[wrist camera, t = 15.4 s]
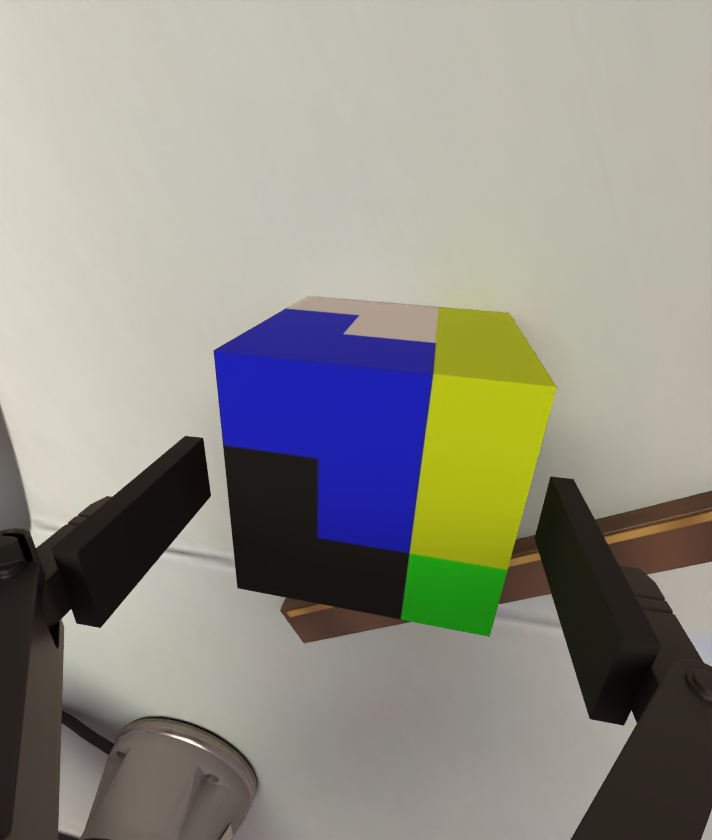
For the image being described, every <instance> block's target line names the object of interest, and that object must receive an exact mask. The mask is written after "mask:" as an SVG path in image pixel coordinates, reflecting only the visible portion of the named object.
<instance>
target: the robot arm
mask: <svg viewBox="0 0 712 840" xmlns="http://www.w3.org/2000/svg"><path fill="white" fill-rule="evenodd" d="M210 497H211V493H210V485H209V478H208V470H207V463H206V456H205V448H204V441H203V438H198V437H189V436H185V437H183V438H182V439H181V440H180V441H179V442H177V443H176V444H175V445H174V446H173V447H172V448H170V449H169V450H168V451H167V452H166V453H164V454H163V455H162V456H161V457H160V458H158V459H157V460H156V461H155V462H154V463H152V464H151V465H150V466H149V467H148V468H146V469H145V470H144V471H143V472H142V473H140V474H139V475H138V476H137V477H136V478H134V479H133V480H132V481H131V482H130V483H128V484H127V485H126V486H125V487H124V488H122V489H121V490H120V491H119V492H118V493H116V494H115V495H114V496H113V497H109V496H107V497H105V498H103V499H101V500H99V501H97V502H95V503H92V504H91V505H89V506H88V507H87V508H86V509H84V510H83V511H82V512H81V513H79V514H78V517H77V516H76V517H74V518H73V519H72V520H71V521H69V522H68V525H65V526H63V527H62V528H61V529H60V530H58V531H57V532H56V533H55V534H53V535H52V536H51V537H50V538H48V539H47V540H46V541H45V542H43V543H42V544H41V545H40V546H38V547H37V548H35V545H34V542H33V539H32V537H31V534H30V532H29V531H27V530H25V529H17V528H14V529H8V530H3V531H0V840H58V817H59V784H60V750H61V723H62V724H64V725H66V726H67V727H69V728H70V729H71V730H73V731H74V732H75V733H77V734H78V735H79V736H81V737H82V738H83V739H85V740H86V741H88V742H89V743H91V744H92V745H94V746H96V747H97V748H99V749H100V750H102V751H103V752H105V753H106V754H108V755H109V757H108V760H107V763H106V766H105V769H104V772H103V775H102V778H101V781H100V784H99V787H98V791H97V794H96V797H95V800H94V803H93V806H92V809H91V812H90V815H89V818H88V821H87V824H86V827H85V830H84V832H83V834H82V836H81V837H80V839H79V840H232V839H233V836H234V834H235V833H236V831H237V830H238V828H239V826H240V825H241V823H242V822H243V820H244V818H245V817H246V814H247V812H248V810H249V808H250V806H251V803H252V800H253V797H254V794H255V791H256V778H255V775H254V773H253V771H252V769H251V768H250V766H249V764H248V763H247V762H246V761H245V759H244V758H243V757H242V756H241V755H240V754H239V753H238V752H237V751H235V750H234V749H233V748H232V747H231V746H229V745H228V744H226V743H225V742H224V741H222V740H220V739H219V738H217V737H215V736H214V735H212V734H210V733H208V732H206V731H204V730H202V729H199V728H197V727H194V726H192V725H189V724H185V723H182V722H178V721H174V720H168V719H159V718H149V719H141V720H137V721H134V722H132V723H130V724H129V725H127V726H126V727H125V728H124V730H123V731H122V733H121V734H120V736H119V738H118V739H117V741H116V742H115V744H113V743H111V742H110V741H108V740H107V739H105V738H104V737H102V736H101V735H99V734H97V733H96V732H94V731H93V730H91V729H90V728H89V727H87V726H86V725H85V724H83V723H82V722H81V721H79V720H78V719H76V718H75V717H73V716H72V715H70V714H68V713H67V712H65V711H63V710H62V684H63V651H64V625H63V622H62V620H61V619H62V618H63V617H64V616H65V615H66V614H67V613H68V611H69V610H70V609H72V611H73V614H74V617H75V620H76V623H77V624H83V625H88V626H93V627H99V628H101V627H102V625H103V624H104V623H105V622H106V621H107V619H108V618H109V617H110V616H111V615H112V613H113V612H114V611H115V610H116V609H117V608H118V606H119V605H120V604H121V603H122V602H123V600H124V599H125V598H126V597H127V596H128V594H129V593H130V592H131V591H132V590H133V588H134V587H135V586H136V585H137V584H138V582H139V581H140V580H141V579H142V578H143V576H144V575H145V574H146V573H147V572H148V571H149V569H150V568H151V567H152V566H153V565H154V563H155V562H156V561H157V560H158V559H159V557H160V556H161V555H162V554H163V553H164V551H165V550H166V549H167V548H168V547H169V545H170V544H171V543H172V542H173V541H174V539H175V538H176V537H177V536H178V535H179V534H180V532H181V531H182V530H183V529H184V528H185V526H186V525H187V524H188V523H189V522H190V520H191V519H192V518H193V517H194V516H195V514H196V513H197V512H198V511H199V510H200V508H201V507H202V506H203V505H204V504H205V502H206V501H207V500H208V499H209V498H210ZM535 541H536V545H537V548H538V551H539V555H540V558H541V561H542V564H543V568H544V571H545V574H546V577H547V581H548V584H549V587H550V590H551V594H552V597H553V600H554V604H555V607H556V610H557V613H558V617H559V620H560V623H561V626H562V630H563V633H564V636H565V640H566V643H567V646H568V649H569V653H570V656H571V659H572V662H573V666H574V669H575V672H576V676H577V679H578V682H579V685H580V689H581V692H582V695H583V698H584V702H585V705H586V708H587V712H588V715H589V718H590V719H592V720H598V721H603V722H608V723H614V724H619V725H624V724H625V722H626V720H627V718H628V716H629V714H630V712H631V710H632V712H633V715H634V717H635V720H636V722H637V725H636V726H635V728H634V730H633V732H632V733H631V735H630V737H629V739H628V740H627V742H626V744H625V746H624V747H623V749H622V751H621V753H620V754H619V756H618V758H617V760H616V761H615V763H614V765H613V767H612V768H611V770H610V772H609V774H608V775H607V777H606V779H605V781H604V782H603V784H602V786H601V788H600V789H599V791H598V793H597V795H596V796H595V798H594V800H593V801H592V803H591V805H590V807H589V808H588V810H587V812H586V814H585V815H584V817H583V819H582V821H581V822H580V824H579V826H578V828H577V829H576V831H575V833H574V835H573V836H572V838H571V840H701V838H702V835H703V832H704V829H705V827H706V824H707V821H708V818H709V815H710V812H711V809H712V667H711V666H709V665H707V664H705V663H704V662H703V661H702V659H701V657H700V656H699V654H698V652H697V651H696V649H695V647H694V646H693V644H692V642H691V641H690V639H689V638H688V636H687V634H686V633H685V631H684V629H683V628H682V626H681V624H680V623H679V621H678V619H677V618H676V616H675V615H674V614H673V613H672V612H673V611H672V609H671V608H670V606H669V604H668V603H667V601H665V598H664V596H663V595H662V593H661V591H660V590H659V588H658V586H657V585H656V583H655V582H654V581H653V580H652V579H651V578H650V577H649V576H648V575H646V574H645V573H644V572H643V571H642V570H641V569H640V568H636V567H629V566H622V565H619V564H618V562H617V561H616V559H615V557H614V555H613V553H612V551H611V549H610V547H609V545H608V544H607V542H606V540H605V538H604V536H603V534H602V532H601V530H600V528H599V527H598V525H597V523H596V521H595V519H594V517H593V515H592V513H591V511H590V510H589V508H588V506H587V504H586V502H585V500H584V498H583V496H582V494H581V493H580V491H579V489H578V487H577V485H576V483H575V481H574V479H567V478H558V477H550V480H549V484H548V488H547V492H546V496H545V500H544V504H543V508H542V512H541V516H540V520H539V523H538V527H537V531H536V535H535Z"/></svg>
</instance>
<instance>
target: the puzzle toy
mask: <svg viewBox="0 0 712 840" xmlns="http://www.w3.org/2000/svg"><path fill="white" fill-rule="evenodd" d="M214 359H215V369H216V379H217V388H218V398H219V408H220V418H221V428H222V438H223V448H224V458H225V468H226V478H227V488H228V498H229V508H230V518H231V528H232V538H233V548H234V558H235V567H236V577H237V587H238V588H239V589H245V590H250V591H255V592H260V593H265V594H271V595H276V596H281V597H286V598H291V599H297V600H302V601H307V602H312V603H317V604H323V605H328V606H333V607H338V608H343V609H349V610H354V611H359V612H364V613H369V614H375V615H380V616H385V617H390V618H395V619H401V620H406V621H411V622H416V623H421V624H427V625H432V626H437V627H442V628H447V629H453V630H458V631H463V632H468V633H473V634H479V635H484V636H489V637H490V633H491V629H492V626H493V622H494V618H495V614H496V611H497V607H498V603H499V600H500V596H501V592H502V588H503V585H504V581H505V577H506V574H507V570H508V566H509V563H510V559H511V555H512V551H513V548H514V544H515V540H516V537H517V533H518V529H519V525H520V522H521V518H522V514H523V511H524V507H525V503H526V499H527V496H528V492H529V488H530V485H531V481H532V477H533V473H534V470H535V466H536V462H537V459H538V455H539V451H540V447H541V444H542V440H543V436H544V433H545V429H546V425H547V421H548V418H549V414H550V410H551V407H552V403H553V399H554V396H555V392H556V388H557V387H556V385H555V383H554V382H553V380H552V379H551V377H550V376H549V374H548V373H547V371H546V370H545V368H544V366H543V365H542V363H541V362H540V360H539V359H538V357H537V356H536V354H535V352H534V351H533V349H532V348H531V346H530V345H529V343H528V342H527V340H526V339H525V337H524V335H523V334H522V332H521V331H520V329H519V328H518V326H517V325H516V323H515V321H514V320H513V318H512V317H511V315H510V314H509V313H502V312H490V311H478V310H466V309H454V308H442V307H430V306H418V305H406V304H394V303H383V302H371V301H359V300H347V299H335V298H323V297H311V296H307V297H305V298H303V299H302V300H300V301H298V302H296V303H295V304H293V305H291V306H290V307H288V308H286V309H284V310H283V311H281V312H279V313H277V314H276V315H274V316H272V317H271V318H269V319H267V320H265V321H264V322H262V323H260V324H258V325H257V326H255V327H253V328H252V329H250V330H248V331H246V332H245V333H243V334H241V335H239V336H238V337H236V338H234V339H233V340H231V341H229V342H227V343H226V344H224V345H222V346H221V347H219V348H217V349H215V350H214Z"/></svg>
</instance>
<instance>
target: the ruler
mask: <svg viewBox="0 0 712 840" xmlns="http://www.w3.org/2000/svg"><path fill="white" fill-rule="evenodd" d="M595 521H596V523H597V525H598V527H599V528H600V530H601V532H602V534H603V536H604V538H605V540H606V542H607V544H608V545H609V547H610V549H611V551H612V553H613V555H614V557H615V559H616V561H617V562H618V564H619V565H622V566H629V567H636V568H640V569H641V570H642V571H643V572H644V573H645V574H646V575H647V574H652V573H657V572H662V571H667V570H672V569H677V568H682V567H687V566H692V565H697V564H702V563H707V562H712V491H711V492H707V493H703V494H699V495H695V496H691V497H687V498H683V499H679V500H675V501H671V502H667V503H663V504H659V505H655V506H651V507H647V508H643V509H639V510H635V511H631V512H627V513H623V514H619V515H615V516H611V517H607V518H603V519H599V520H595ZM547 594H551V590H550V587H549V584H548V581H547V577H546V574H545V571H544V568H543V564H542V561H541V558H540V555H539V551H538V548H537V545H536V541H535V536H531V537H527V538H523V539H519V540H515V544H514V548H513V551H512V555H511V559H510V563H509V566H508V570H507V574H506V577H505V581H504V585H503V588H502V592H501V596H500V600H499V603H498V604H503V603H508V602H513V601H518V600H522V599H527V598H532V597H537V596H542V595H547ZM280 611H281V612H282V614H283V615H284V616H285V618H286V619H287V621H288V622H289V623H290V625H291V626H292V627H293V629H294V630H295V632H296V633H297V634H298V636H299V637H300V639H301V640H302V641H303V643H308V642H313V641H318V640H323V639H328V638H333V637H338V636H343V635H348V634H353V633H358V632H363V631H368V630H373V629H378V628H383V627H388V626H393V625H398V624H403V623H408V622H411V621H406V620H401V619H395V618H390V617H385V616H380V615H375V614H369V613H364V612H359V611H354V610H349V609H343V608H338V607H333V606H328V605H323V604H317V603H312V602H307V601H302V600H297V599H291V598H285V600H284V603H283V605H282V608H281V610H280Z"/></svg>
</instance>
